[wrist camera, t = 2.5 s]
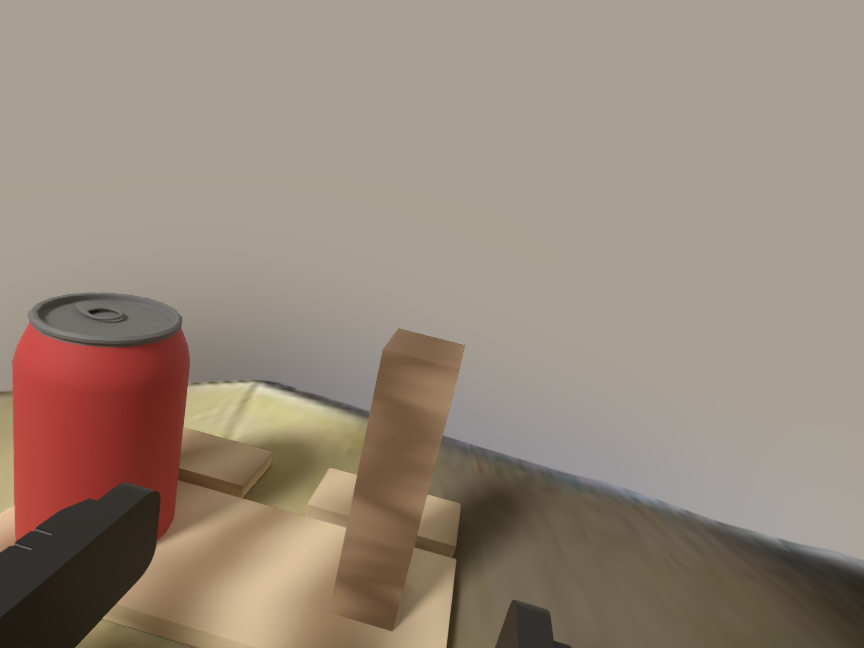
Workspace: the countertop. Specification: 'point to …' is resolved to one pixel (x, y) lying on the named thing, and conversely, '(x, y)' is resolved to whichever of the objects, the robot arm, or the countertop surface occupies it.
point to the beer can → (97, 403)
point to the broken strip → (243, 466)
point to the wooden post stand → (314, 541)
